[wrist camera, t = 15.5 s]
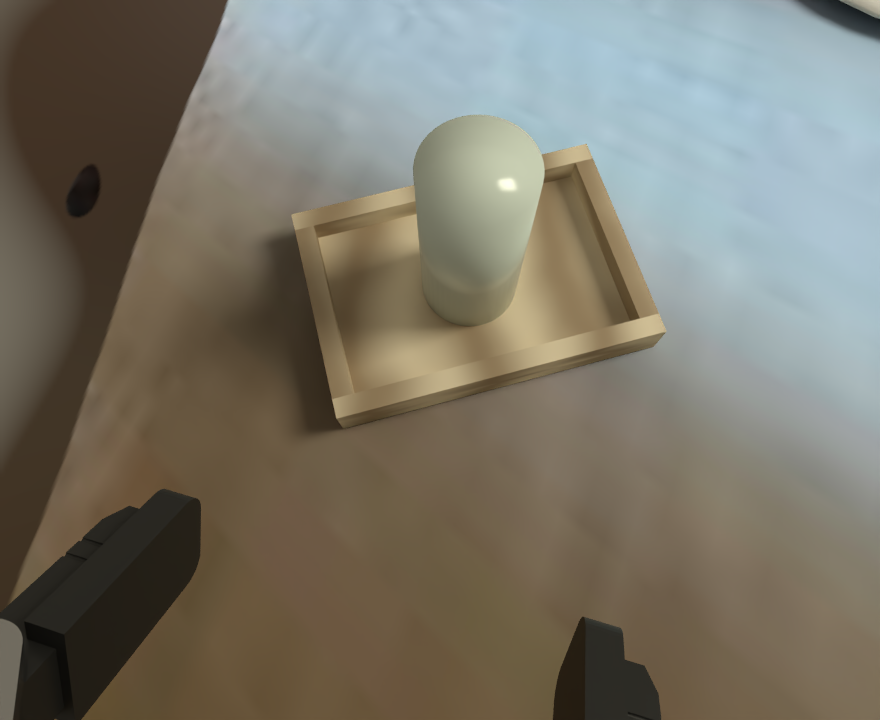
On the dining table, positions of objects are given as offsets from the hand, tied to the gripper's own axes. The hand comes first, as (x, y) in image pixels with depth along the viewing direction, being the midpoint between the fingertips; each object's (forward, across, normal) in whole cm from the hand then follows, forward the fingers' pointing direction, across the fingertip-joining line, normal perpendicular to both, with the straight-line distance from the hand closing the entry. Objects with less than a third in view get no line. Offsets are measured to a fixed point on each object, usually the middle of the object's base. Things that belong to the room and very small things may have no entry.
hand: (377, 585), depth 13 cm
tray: (+30, +2, +4) cm, 30 cm away
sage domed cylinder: (+29, +2, +3) cm, 29 cm away
